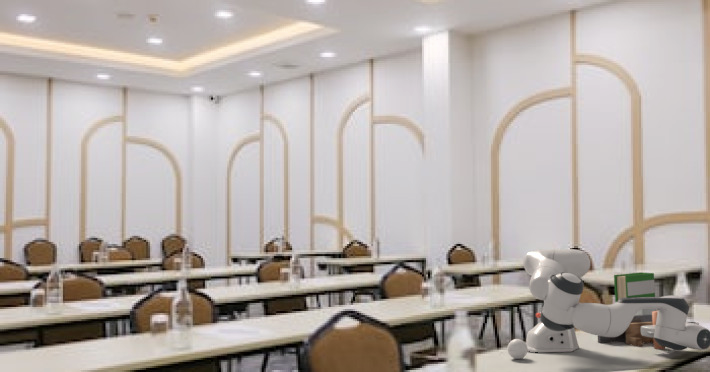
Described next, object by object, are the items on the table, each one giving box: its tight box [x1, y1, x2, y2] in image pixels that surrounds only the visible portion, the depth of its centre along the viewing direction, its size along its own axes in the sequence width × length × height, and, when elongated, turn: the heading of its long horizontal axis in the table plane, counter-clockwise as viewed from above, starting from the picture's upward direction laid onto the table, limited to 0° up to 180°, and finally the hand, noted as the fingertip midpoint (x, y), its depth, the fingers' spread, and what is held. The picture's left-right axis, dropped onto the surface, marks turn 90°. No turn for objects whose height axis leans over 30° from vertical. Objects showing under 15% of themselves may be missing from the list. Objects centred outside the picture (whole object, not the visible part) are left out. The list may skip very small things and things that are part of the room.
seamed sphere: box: [502, 338, 529, 360], centre depth 270 cm, size 10×7×7 cm
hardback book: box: [613, 271, 656, 303], centre depth 333 cm, size 18×7×24 cm, turn 118°
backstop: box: [597, 314, 652, 344], centre depth 298 cm, size 30×2×10 cm, turn 99°
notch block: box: [625, 322, 654, 347], centre depth 290 cm, size 12×7×8 cm, turn 99°
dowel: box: [652, 310, 666, 350], centre depth 280 cm, size 4×4×14 cm
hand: (657, 327), depth 281 cm, fingers open, 5 cm apart
